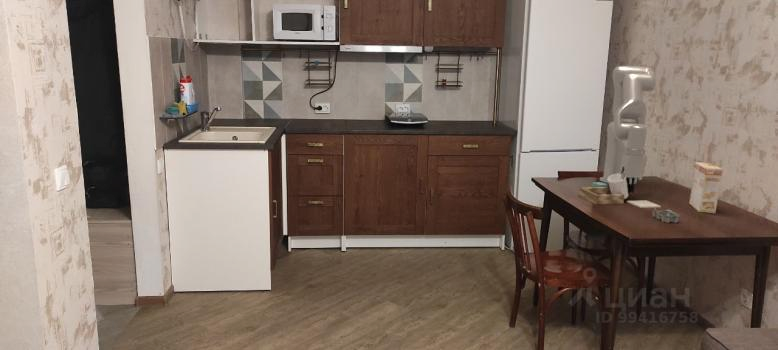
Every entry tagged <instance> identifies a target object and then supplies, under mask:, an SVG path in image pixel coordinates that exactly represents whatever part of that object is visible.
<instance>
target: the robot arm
mask: <svg viewBox="0 0 778 350" xmlns="http://www.w3.org/2000/svg"><path fill="white" fill-rule="evenodd" d="M612 71H613V72H612V81H613V82H612V83H613V87H614V95H613V104H612V114H613V115H612V116H613V121H611V122H609V123H608V125H607V129H606V132H607V133H606V134H607V139H606V140H607V142H606V143H607V145H606V151H605V160H604V169H603V176H601V177H599V182H601V183H605V184H609V183H608V177H609V176H611V175H613V174H618V173H620V175H621V174H622V176H621V179H622V180H623V179H624V178H625V176H626V181H627V188H628V194H633V193H634V191H635V185H636V184H637V182H639V181H641V180H643V177H644V174H645V165H646V163H645V161H646V159H645V156H644V154H646V150H645V147H646V138H647V130H648V129H647V127H646V120H647V119H646V118H647V105H646V103H645V102H644V99H643V94H644V93H643V92H648V93H649V92H650V93H651V92H653V91H654V90H655V89H656V88H657V87H656V86H657V79H656V75H655V73H654V72H653V70H652V68H651V67H647V66H636V65H635V66H634V65H619V66H615V68H614V69H613V70H612ZM621 119H624V121H622V120H621ZM625 120H634V121H625ZM624 141H626V145H625V144H624V143H623V142H624ZM624 175H625V176H624Z"/></svg>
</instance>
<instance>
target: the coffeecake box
mask: <svg viewBox="0 0 778 350" xmlns="http://www.w3.org/2000/svg"><path fill="white" fill-rule="evenodd" d="M723 170H724V169H723V168H721V167H719V166H717V165H715V164H714V163H711V162H702V161H700V162H698V161H695V165H694V171H693V178H692V183H691V191H690V195H689V196H690V197H689V205H691V206H692V208H694V209H695V210H696V211H697V212H699V213H710V214H716V212H717V207H718V200H719V194H720V190H721V189H720V187H721V181H722V175H723V172H724V171H723Z"/></svg>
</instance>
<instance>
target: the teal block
mask: <svg viewBox="0 0 778 350" xmlns="http://www.w3.org/2000/svg"><path fill="white" fill-rule="evenodd" d="M608 186H609V183H606V182H602V181H598V182H597V181H596V182H592V183H591V187H606V188H607V189H608ZM606 195H608V192H607V193H606Z"/></svg>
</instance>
